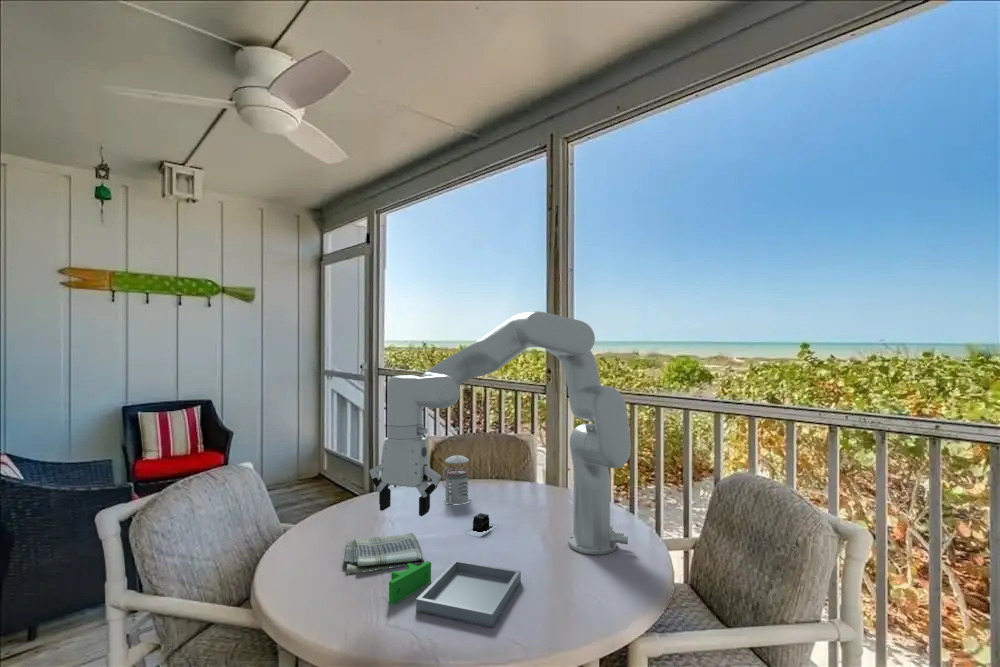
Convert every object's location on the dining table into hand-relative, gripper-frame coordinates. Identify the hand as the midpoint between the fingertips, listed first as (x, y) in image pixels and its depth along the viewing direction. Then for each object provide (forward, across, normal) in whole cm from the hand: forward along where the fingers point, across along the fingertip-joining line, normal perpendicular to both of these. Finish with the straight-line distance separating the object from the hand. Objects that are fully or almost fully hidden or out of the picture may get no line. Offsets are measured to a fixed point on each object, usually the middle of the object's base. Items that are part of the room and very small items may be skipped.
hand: (404, 511), depth 101 cm
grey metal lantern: (+17, +14, -56) cm, 60 cm away
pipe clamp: (+17, -1, 0) cm, 17 cm away
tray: (+16, -15, -2) cm, 22 cm away
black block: (+17, -4, -36) cm, 40 cm away
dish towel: (+17, +14, -13) cm, 26 cm away
